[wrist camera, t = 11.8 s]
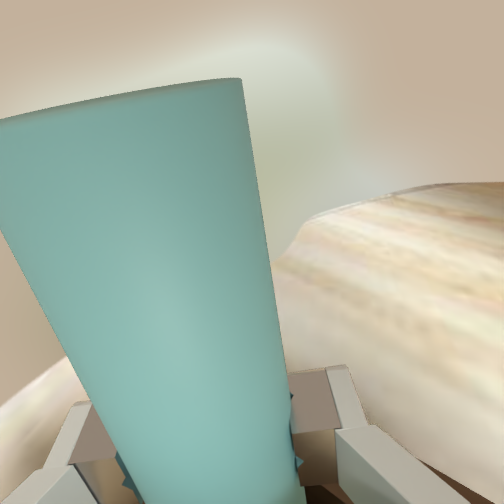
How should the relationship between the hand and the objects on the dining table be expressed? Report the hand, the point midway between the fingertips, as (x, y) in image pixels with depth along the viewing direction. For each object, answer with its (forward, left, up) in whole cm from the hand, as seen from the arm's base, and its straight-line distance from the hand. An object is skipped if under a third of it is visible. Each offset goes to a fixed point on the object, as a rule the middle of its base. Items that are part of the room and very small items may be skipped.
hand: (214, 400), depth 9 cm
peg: (+1, +1, -9) cm, 9 cm away
